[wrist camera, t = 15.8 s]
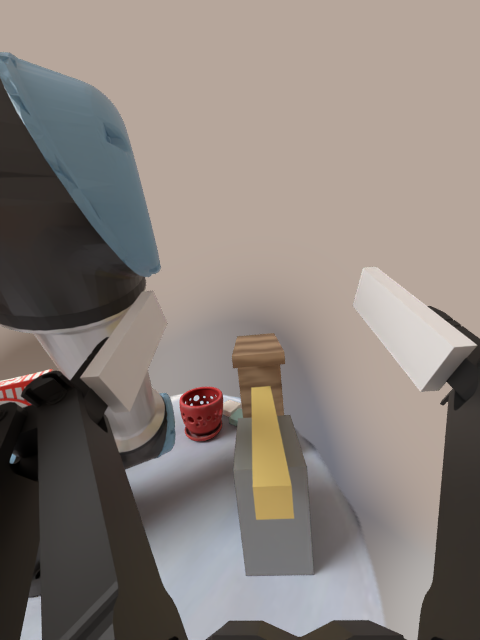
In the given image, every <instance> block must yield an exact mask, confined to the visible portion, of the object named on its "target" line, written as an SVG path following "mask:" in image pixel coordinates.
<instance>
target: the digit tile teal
mask: <svg viewBox="0 0 480 640" xmlns="http://www.w3.org/2000/svg"><path fill="white" fill-rule="evenodd" d="M238 418H243V413H242V409H240V408H239V409H238V410H236V411H235V412H234V413H233V414H232V415H231V416H230V417H229V423H230V424H232V425H235V426H237V423H238Z"/></svg>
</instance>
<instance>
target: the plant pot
mask: <svg viewBox="0 0 480 640" xmlns="http://www.w3.org/2000/svg"><path fill="white" fill-rule="evenodd" d="M195 395H198V396H199V397H200V398H199V400H198V401H194V400H193V398H194V396H195ZM215 395H216V396H217V397H216V396H215ZM203 396H206V398H203ZM210 396H212V397H213V399H211V398H210ZM190 398H191V401H189V399H190ZM185 401H186V404H185ZM200 401H203V402H204V403H203V404H200ZM207 401H208V402H209V404H207V403H206V402H207ZM191 403H193V406H190V404H191ZM180 411H181V416H182V419H183V422H184V424H185V426H186V427H185V434H186V436H187V437H188V438H190V439H191V440H194V441H205V440H208V439H211V438H213V437H214V436H216V435H217V434H218V433H219V431H220V430H221V428H222V420H221V418H222V414H223V394H222V392H221V391H220V390H219V389H217V388H214V387H200V388H195V389H192V390H189V391H187V392H186V393H184V394H183V395H182V396H181V398H180Z"/></svg>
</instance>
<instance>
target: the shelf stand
mask: <svg viewBox="0 0 480 640" xmlns="http://www.w3.org/2000/svg"><path fill="white" fill-rule="evenodd" d="M232 362H233V368H238V376H239V385H240V394H241V404H242V413H243V418H251V417H252V401H251V388H252V387H266V386H270V387H271V391H272V396H273V401H274V405H275V410H276V415H277V416H282V415H284V409H283V396H282V384H281V371H280V364H285V356H284V351H283V349H282V347H281V345H280V344H279V342H278V340H277V338H276V336H275V334H274V333H271V334H260V335H249V336H238V337H237V340H236V343H235V347H234V350H233V354H232Z"/></svg>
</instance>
